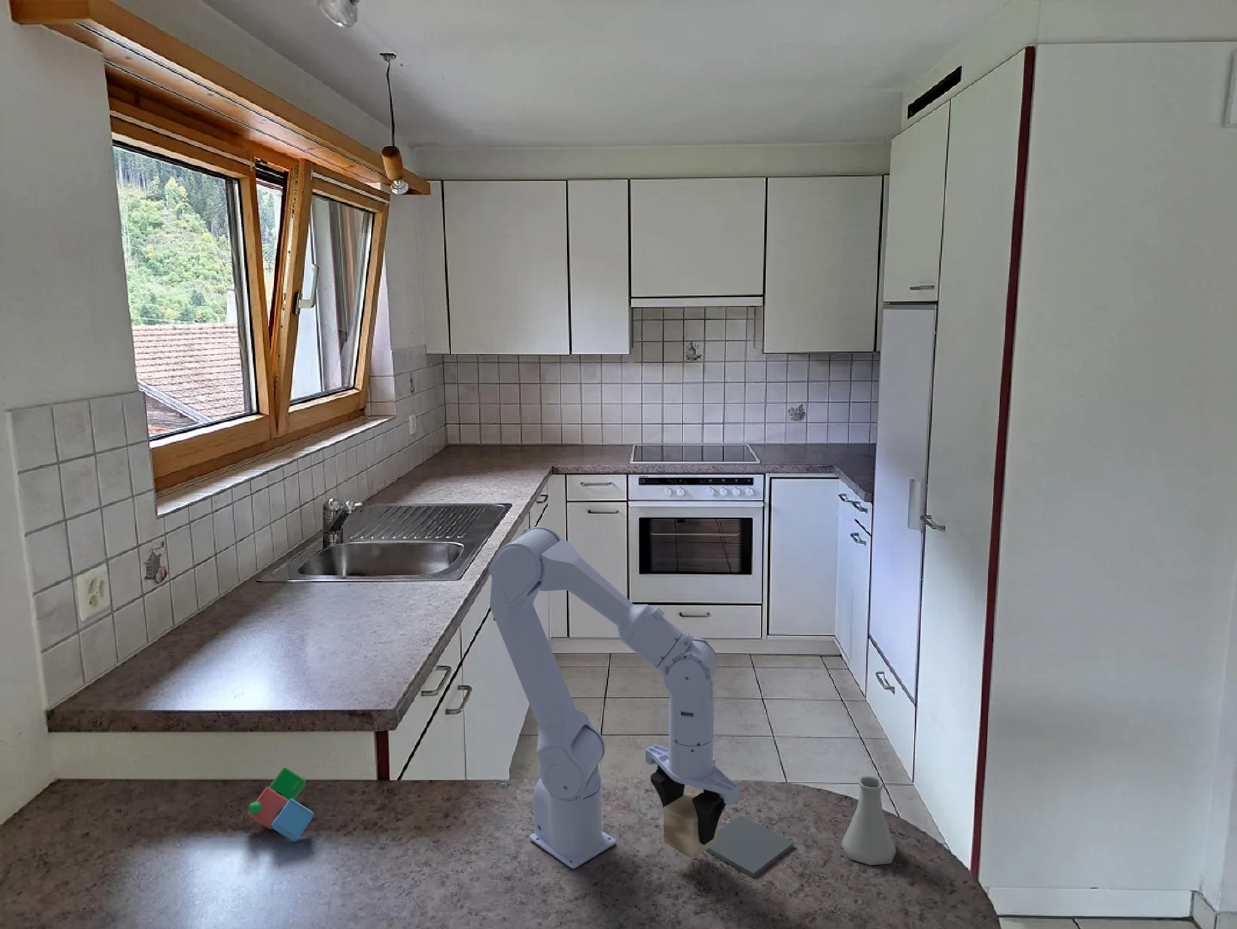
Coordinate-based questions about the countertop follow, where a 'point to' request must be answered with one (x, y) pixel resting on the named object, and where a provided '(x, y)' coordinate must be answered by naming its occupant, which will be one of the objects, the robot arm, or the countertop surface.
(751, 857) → the coaster
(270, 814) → the building blocks
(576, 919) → the countertop surface
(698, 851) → the block
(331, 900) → the countertop surface
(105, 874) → the countertop surface
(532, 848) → the countertop surface
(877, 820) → the flask
